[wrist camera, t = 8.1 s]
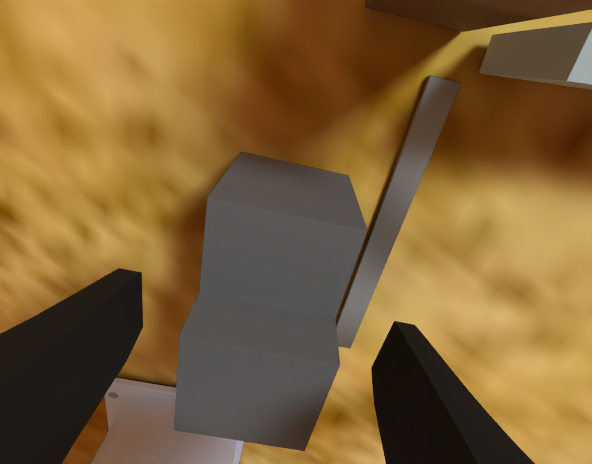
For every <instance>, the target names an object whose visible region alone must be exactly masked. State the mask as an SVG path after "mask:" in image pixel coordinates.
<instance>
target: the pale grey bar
mask: <svg viewBox="0 0 592 464" xmlns="http://www.w3.org/2000/svg"><path fill="white" fill-rule="evenodd" d="M479 73H481V74H487V75H494V76H501V77H508V78H514V79H521V80H528V81H535V82H541V83H548V84H555V85H562V86H569V87H575V88H582V89H589V90H592V22H589V23H581V24H574V25H566V26H558V27H550V28H543V29H535V30H527V31H519V32H511V33H504V34H496V35H492V38H491V40H490V43H489V46H488V49H487V51H486V54H485V57H484V60H483V63H482V65H481V68H480V71H479Z"/></svg>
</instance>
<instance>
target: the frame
mask: <svg viewBox="0 0 592 464" xmlns="http://www.w3.org/2000/svg"><path fill="white" fill-rule="evenodd" d="M365 7H368V8H372V9H376V10H380V11H383V12H387V13H391V14H395V15H399V16H403V17H407V18H411V19H414V20H418V21H422V22H426V23H430V24H434V25H438V26H442V27H445V28H449V29H453V30H457V31H461V32H465V31H470V30H476V29H482V28H488V27H493V26H499V25H505V24H511V23H516V22H522V21H528V20H534V19H539V18H545V17H551V16H557V15H562V14H568V13H574V12H580V11H585V10H591V9H592V0H367V1H366V5H365ZM460 85H461V83H458V82H454V81H450V80H446V79H442V78H437V77H433V76H428V79H427V82H426V84H425V87H424V90H423V92H422V95H421V98H420V100H419V103H418V106H417V108H416V111H415V114H414V117H413V119H412V122H411V125H410V127H409V130H408V133H407V135H406V138H405V141H404V143H403V146H402V149H401V152H400V154H399V157H398V160H397V162H396V165H395V168H394V170H393V173H392V176H391V179H390V181H389V184H388V187H387V189H386V192H385V195H384V197H383V200H382V203H381V205H380V208H379V211H378V214H377V216H376V219H375V222H374V224H373V227H372V230H371V232H370V235H369V238H368V240H367V243H366V246H365V249H364V251H363V254H362V257H361V259H360V262H359V265H358V267H357V270H356V273H355V275H354V278H353V281H352V284H351V286H350V289H349V292H348V294H347V297H346V300H345V302H344V305H343V308H342V310H341V313H340V316H339V319H338V321H337V324H336V330H337V340H338V346H340V347H346V348H350V347H351V345H352V343H353V340H354V338H355V336H356V333H357V331H358V328H359V326H360V324H361V321H362V319H363V317H364V314H365V312H366V309H367V307H368V305H369V302H370V300H371V297H372V295H373V293H374V290H375V288H376V286H377V283H378V281H379V278H380V276H381V274H382V271H383V269H384V266H385V264H386V262H387V259H388V257H389V255H390V252H391V250H392V247H393V245H394V243H395V240H396V238H397V235H398V233H399V231H400V228H401V226H402V224H403V221H404V219H405V216H406V214H407V212H408V209H409V207H410V205H411V202H412V200H413V197H414V195H415V193H416V190H417V188H418V185H419V183H420V181H421V178H422V176H423V174H424V171H425V169H426V166H427V164H428V162H429V159H430V157H431V154H432V152H433V150H434V147H435V145H436V143H437V140H438V138H439V135H440V133H441V131H442V128H443V126H444V124H445V121H446V119H447V116H448V114H449V112H450V109H451V107H452V104H453V102H454V100H455V97H456V95H457V93H458V90H459V88H460Z"/></svg>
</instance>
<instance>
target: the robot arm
mask: <svg viewBox="0 0 592 464" xmlns="http://www.w3.org/2000/svg"><path fill="white" fill-rule="evenodd" d="M142 328H143V308H142V273H141V272H135V271H130V270H125V269H120V268H119V269H117V270H115V271H113V272H112V273H110V274H108V275H106V276H104V277H103V278H101V279H99V280H98V281H96V282H94V283H92V284H91V285H89V286H87V287H86V288H84V289H82V290H80V291H79V292H77V293H75V294H73V295H72V296H70V297H68V298H66V299H65V300H63V301H61V302H59V303H57V304H56V305H54V306H52V307H50V308H49V309H47V310H45V311H43V312H41V313H40V314H38V315H36V316H34V317H32V318H30V319H28V320H26V321H25V322H23V323H21V324H19V325H17V326H15V327H13V328H11V329H9V330H7V331H5V332H3V333H1V334H0V464H62V462H63V460H64V459H65V457H66V455H67V454H68V452H69V450H70V449H71V447H72V445H73V444H74V442H75V441H76V439H77V437H78V436H79V434H80V433H81V431H82V430H83V428H84V427H85V425H86V423H87V422H88V420H89V419H90V417H91V416H92V414H93V413H94V411H95V409H96V408H97V406H98V405H99V403H100V402H101V400H102V399H103V397H104V395H105V403H106V412H107V421H108V429H109V431H108V433H107V435H106V437H105V439H104V441H103V442H102V444H101V446H100V448H99V450H98V452H97V454H96V455H95V457H94V459H93V461H92V463H91V464H239V460H240V456H241V451H242V447H243V443H244V441H238V440H232V439H226V438H219V437H213V436H207V435H200V434H194V433H188V432H181V431H175V430H174V419H175V400H176V388H175V387H169V386H163V385H157V384H151V383H145V382H139V381H133V380H127V379H121V378H116V377H117V375H118V373H119V372H120V370H121V369H122V367H123V365H124V364H125V362H126V361H127V359H128V357H129V355H130V353H131V351H132V349H133V347H134V345H135V342H136V340H137V338H138V336H139V334H140V332H141V330H142ZM372 384H373V395H374V405H375V410H376V416H377V421H378V426H379V431H380V436H381V441H382V446H383V451H384V456H385V461H386V464H535V463H534V462H533V461H532V460H531V459H530V458H529V457H528V456H527V455H526V454H525V453H524V452H523V451H522V450H521V449H520V448H519V447H518V446H517V445H516V444H515V443H514V442H513V440H512V439H511V438H510V437H509V436H508V435H507V434H506V433H505V432H504V431H503V429H502V428H501V427H500V426H499V425H498V424H497V423H496V422H495V421H494V419H493V418H492V417H491V416H490V415H489V414H488V413H487V412H486V410H485V409H484V408H483V407H482V406H481V405H480V403H479V402H478V401H477V400H476V399H475V398H474V396H473V395H472V394H471V393H470V392H469V391H468V389H467V388H466V387H465V386H464V385H463V383H462V382H461V381H460V380H459V378H458V377H457V376H456V375H455V374H454V372H453V371H452V370H451V369H450V367H449V366H448V365H447V364H446V362H445V361H444V360H443V359H442V357H441V356H440V355H439V354H438V353H437V351H436V350H435V349H434V348H433V346H432V345H431V344H430V343H429V341H428V340H427V339H426V338H425V336H424V335H423V334H422V333H421V332H420V330H419V329H418V328H417V327H416V326H415V325H412V324H407V323H402V322H397V321H394V323H393V325H392V327H391V329H390V331H389V333H388V335H387V337H386V339H385V341H384V343H383V345H382V347H381V349H380V351H379V353H378V355H377V358H376V360H375V362H374V364H373V366H372Z"/></svg>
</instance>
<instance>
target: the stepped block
mask: <svg viewBox="0 0 592 464" xmlns="http://www.w3.org/2000/svg"><path fill="white" fill-rule="evenodd" d="M366 234H367V228H366V225H365V222H364V219H363V216H362V213H361V210H360V207H359V204H358V201H357V198H356V195H355V192H354V189H353V186H352V183H351V181H350V178H349V175H344V174H340V173H335V172H331V171H326V170H322V169H317V168H313V167H308V166H303V165H299V164H294V163H290V162H285V161H281V160H276V159H272V158H267V157H263V156H258V155H254V154H249V153H244V152H240V154H239V155H238V156H237V158H236V159H235V160H234V162H233V163H232V165H231V166H230V167H229V169H228V170H227V171H226V173H225V174H224V175H223V177H222V178H221V180H220V181H219V182H218V184H217V185H216V186H215V188H214V189H213V190H212V192H211V193H210V194H209V196H208V197H207V208H206V219H205V231H204V242H203V253H202V265H201V276H200V288H199V294H198V296H197V299H196V301H195V303H194V305H193V307H192V309H191V311H190V313H189V316H188V318H187V320H186V322H185V324H184V326H183V328H182V330H181V333H180V335H179V345H178V363H177V382H176V400H175V419H174V430H175V431H181V432H188V433H194V434H200V435H207V436H213V437H219V438H226V439H232V440H238V441H244V442H251V443H257V444H263V445H270V446H276V447H282V448H289V449H295V450H301V451H305V448H306V446H307V444H308V441H309V439H310V436H311V434H312V431H313V429H314V427H315V424H316V422H317V419H318V417H319V414H320V412H321V410H322V407H323V405H324V402H325V400H326V397H327V395H328V393H329V390H330V388H331V385H332V383H333V380H334V378H335V376H336V373H337V371H338V368H339V366H340V359H339V349H338V340H337V330H336V320H335V319H336V316H337V313H338V310H339V308H340V305H341V302H342V299H343V297H344V294H345V291H346V288H347V286H348V283H349V280H350V278H351V275H352V272H353V269H354V267H355V264H356V261H357V258H358V256H359V253H360V250H361V247H362V245H363V242H364V239H365V236H366Z"/></svg>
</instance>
